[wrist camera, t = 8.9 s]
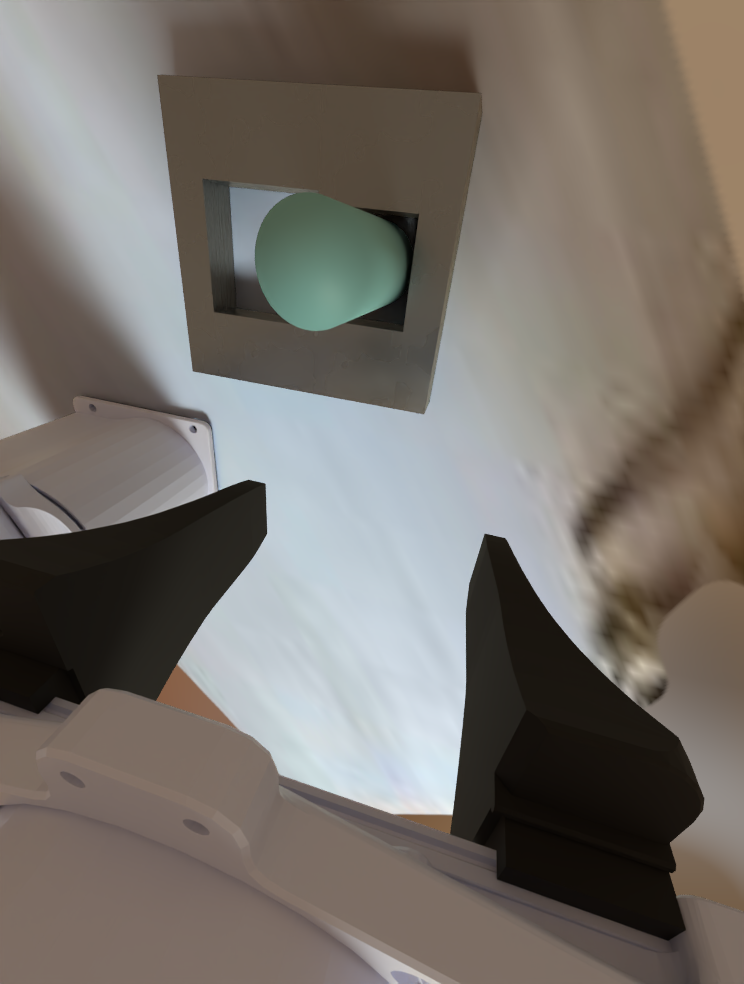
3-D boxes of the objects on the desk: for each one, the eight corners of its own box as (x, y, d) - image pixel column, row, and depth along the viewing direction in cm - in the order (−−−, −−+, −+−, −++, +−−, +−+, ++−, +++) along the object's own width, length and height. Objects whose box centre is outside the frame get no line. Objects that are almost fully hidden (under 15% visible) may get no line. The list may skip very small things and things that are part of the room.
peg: (338, 300, 19) (257, 321, 13) (343, 215, 18) (252, 186, 11) (408, 311, 19) (362, 338, 12) (420, 223, 17) (375, 199, 10)
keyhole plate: (215, 362, 22) (192, 371, 21) (190, 93, 17) (157, 74, 15) (429, 401, 21) (424, 413, 19) (482, 112, 15) (481, 93, 13)
